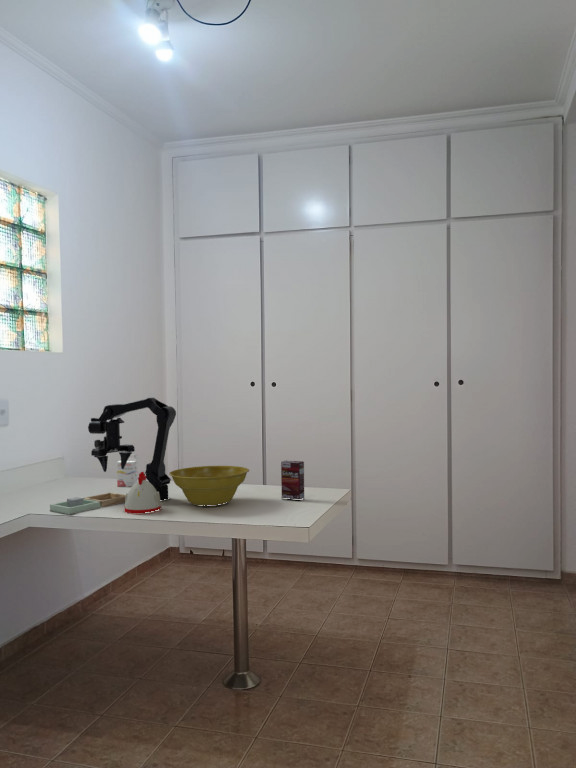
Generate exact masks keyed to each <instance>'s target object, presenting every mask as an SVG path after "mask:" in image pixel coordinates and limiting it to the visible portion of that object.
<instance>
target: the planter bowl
mask: <svg viewBox="0 0 576 768" xmlns="http://www.w3.org/2000/svg"><path fill="white" fill-rule="evenodd" d="M249 472H250V469H249V468H247V467H244V466H237V465H236V466H235V465H204V466H203V465H201V466H192V467H190V466H189V467H185V468H184V467H183V468H177V469H175V470H172V471H170V472H169V473H168V475H169V476H170V477H171V479H172V481H173V482H174V485H176V486H177V487H179V488H180V489H181V490H182V493H183V495H184V496H185V498H186V499H187V501H188V502H189V503H190V504H192V505H193V504H195V505H203V506H204V505H205V506H207V505H218V504H223V503H226V502H228V503H230V502H231V501H232V500H233V498H234V496H235V495H236V492H237V490H238V487H239V486H240V485H241V484H242V483H244V481H246V480H245V479H246V476H247V473H249ZM195 505H194V506H195Z"/></svg>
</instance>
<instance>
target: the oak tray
mask: <svg viewBox="0 0 576 768" xmlns="http://www.w3.org/2000/svg"><path fill="white" fill-rule="evenodd" d="M125 497H126V494H122V493H114V492H107V493H101V494H96V495H91V496H87V497H86V496H85V497H82V498H83V499H86V500H92V501H98V502H100V508H104V507H109V506H113V505H118V504H123V503H125Z"/></svg>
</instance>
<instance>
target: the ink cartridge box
mask: <svg viewBox="0 0 576 768" xmlns="http://www.w3.org/2000/svg"><path fill="white" fill-rule="evenodd" d="M119 457H120V458H119V459H121V456H120V455H119ZM137 458H138V457H137V454H134V453H132V454H131V455H130V457H129V458H128V460H127V463H126V465H125V467H124V469H121V460H118V461H116V482H117V487H128V486H133V485H134V484H135V483H136V482H138V459H137Z"/></svg>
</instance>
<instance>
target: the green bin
mask: <svg viewBox="0 0 576 768" xmlns="http://www.w3.org/2000/svg"><path fill="white" fill-rule="evenodd" d="M83 501H84V505H80V506H75V507H67V500H66V501H61V502H55V503H51V504H49V511H50V512H55V513H58V514H59V513H60V514H64V515H69V516H71V515H75V514H76V513H81V512H86V511H91V510H95V509H101V507H100V502H98V501H92V500H86V499H83Z"/></svg>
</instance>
